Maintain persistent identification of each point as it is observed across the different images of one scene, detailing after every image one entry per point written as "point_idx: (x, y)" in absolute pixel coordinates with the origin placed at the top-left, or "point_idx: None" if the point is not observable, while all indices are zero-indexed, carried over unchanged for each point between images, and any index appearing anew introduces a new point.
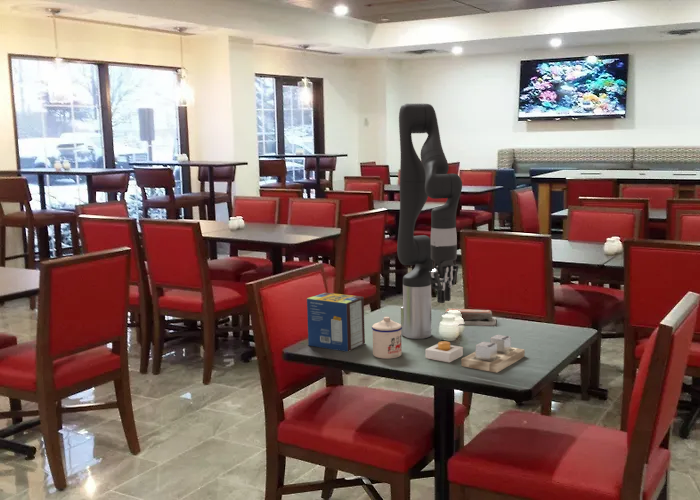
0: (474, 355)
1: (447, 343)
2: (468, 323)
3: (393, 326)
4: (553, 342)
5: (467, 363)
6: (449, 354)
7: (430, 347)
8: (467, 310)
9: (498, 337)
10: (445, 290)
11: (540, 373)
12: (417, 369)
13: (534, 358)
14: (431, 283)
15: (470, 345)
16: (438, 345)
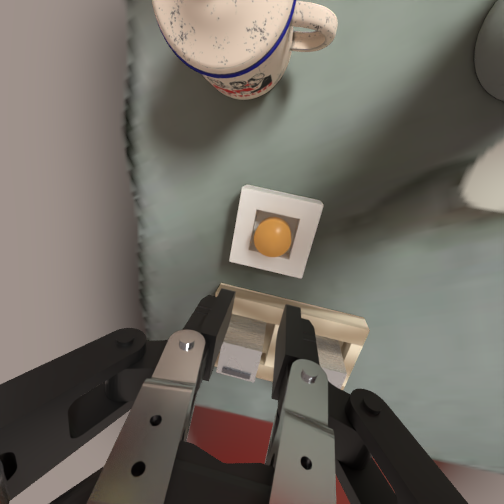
0: (252, 313)
1: (269, 250)
2: None
3: (192, 42)
4: (483, 426)
5: None
6: (230, 260)
7: (266, 195)
8: None
9: None
10: (280, 361)
11: (244, 409)
12: (162, 194)
13: None
14: (57, 360)
15: (419, 261)
16: (260, 224)
